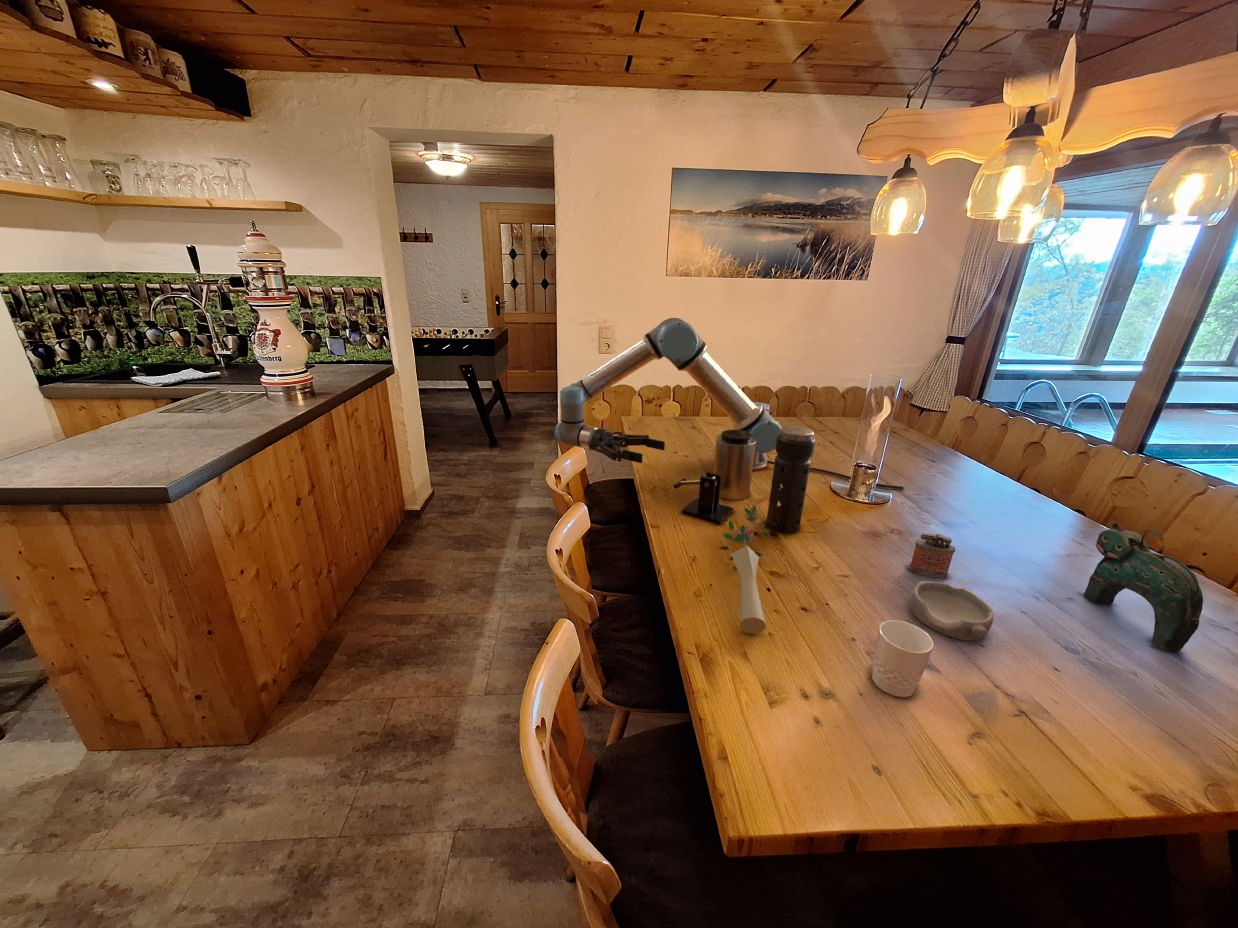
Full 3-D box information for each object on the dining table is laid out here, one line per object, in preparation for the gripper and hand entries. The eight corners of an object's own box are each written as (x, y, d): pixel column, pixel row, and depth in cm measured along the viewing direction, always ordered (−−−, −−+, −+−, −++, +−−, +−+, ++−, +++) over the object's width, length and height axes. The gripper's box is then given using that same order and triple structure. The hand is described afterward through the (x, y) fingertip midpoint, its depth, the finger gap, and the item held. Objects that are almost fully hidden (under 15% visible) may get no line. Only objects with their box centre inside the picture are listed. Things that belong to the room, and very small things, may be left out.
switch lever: (674, 490, 144) (672, 482, 144) (683, 484, 149) (681, 476, 148) (711, 488, 137) (709, 480, 136) (719, 481, 142) (718, 474, 141)
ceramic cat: (1071, 590, 110) (1105, 510, 103) (1100, 591, 110) (1136, 511, 103) (1159, 653, 92) (1207, 562, 85) (1194, 655, 92) (1246, 564, 84)
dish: (990, 653, 91) (998, 631, 89) (905, 626, 98) (911, 605, 96) (985, 611, 103) (992, 591, 101) (910, 589, 109) (915, 570, 108)
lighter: (945, 571, 116) (956, 535, 113) (949, 579, 113) (960, 542, 110) (907, 565, 119) (917, 529, 115) (910, 572, 116) (920, 535, 112)
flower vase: (729, 655, 100) (722, 539, 129) (792, 650, 96) (770, 531, 125) (717, 617, 94) (712, 504, 123) (783, 611, 91) (762, 496, 119)
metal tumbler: (705, 493, 156) (710, 435, 149) (719, 481, 165) (725, 426, 158) (741, 503, 150) (748, 442, 143) (754, 490, 159) (761, 432, 152)
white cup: (858, 666, 88) (869, 620, 84) (900, 664, 88) (913, 618, 85) (884, 701, 80) (898, 653, 77) (929, 699, 81) (945, 651, 77)
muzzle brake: (805, 536, 131) (796, 518, 141) (822, 437, 121) (811, 425, 131) (769, 534, 132) (762, 516, 142) (783, 435, 122) (774, 424, 131)
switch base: (681, 513, 143) (684, 476, 138) (696, 501, 150) (699, 466, 146) (720, 525, 137) (724, 486, 132) (733, 511, 144) (737, 475, 140)
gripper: (617, 440, 170) (672, 452, 159) (572, 461, 150) (631, 476, 140) (617, 419, 167) (673, 430, 156) (572, 438, 148) (631, 451, 137)
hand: (653, 452), depth 148 cm, fingers open, 13 cm apart
